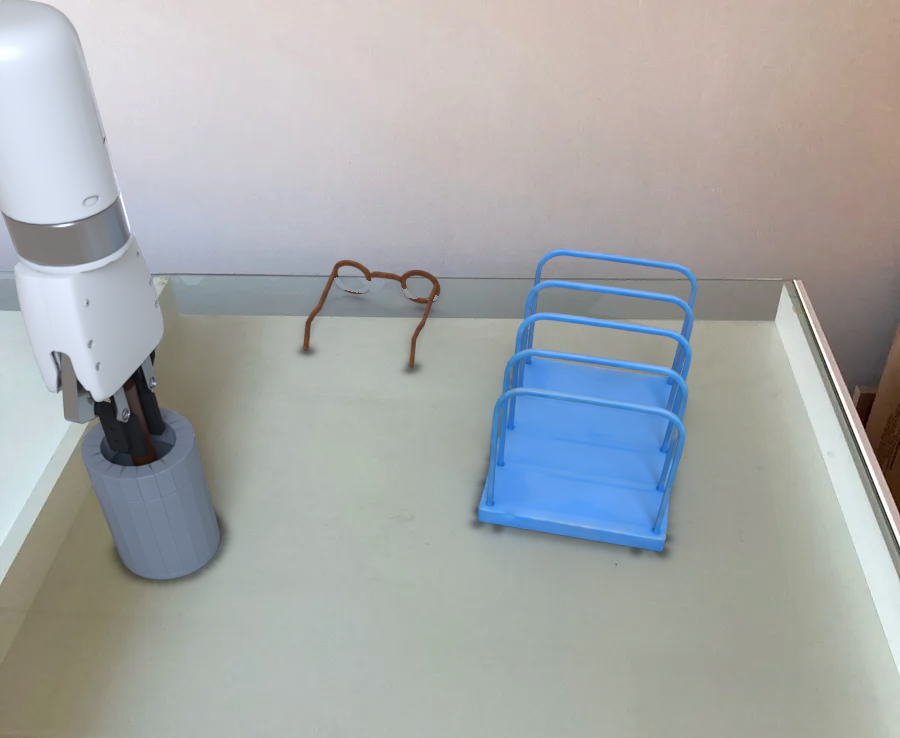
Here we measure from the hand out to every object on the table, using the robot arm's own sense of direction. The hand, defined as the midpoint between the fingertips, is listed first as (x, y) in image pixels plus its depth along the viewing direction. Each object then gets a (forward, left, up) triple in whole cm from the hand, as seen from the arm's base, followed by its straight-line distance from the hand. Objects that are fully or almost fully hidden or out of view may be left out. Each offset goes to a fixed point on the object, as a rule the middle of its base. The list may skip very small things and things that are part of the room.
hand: (138, 439), depth 74 cm
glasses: (+6, +38, -12) cm, 40 cm away
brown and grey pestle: (0, 0, -8) cm, 8 cm away
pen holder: (0, 0, -12) cm, 12 cm away
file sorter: (+34, +24, -12) cm, 43 cm away
